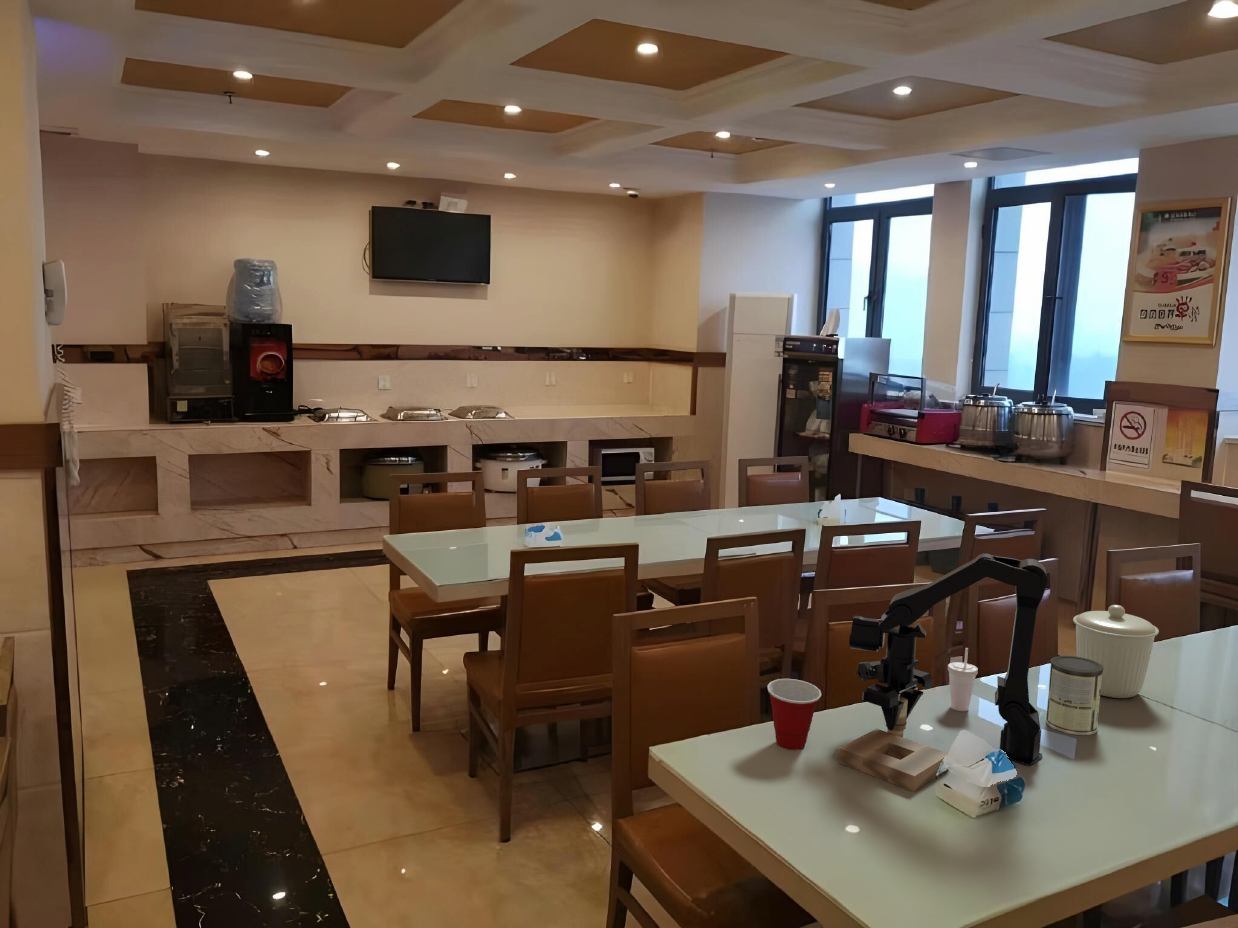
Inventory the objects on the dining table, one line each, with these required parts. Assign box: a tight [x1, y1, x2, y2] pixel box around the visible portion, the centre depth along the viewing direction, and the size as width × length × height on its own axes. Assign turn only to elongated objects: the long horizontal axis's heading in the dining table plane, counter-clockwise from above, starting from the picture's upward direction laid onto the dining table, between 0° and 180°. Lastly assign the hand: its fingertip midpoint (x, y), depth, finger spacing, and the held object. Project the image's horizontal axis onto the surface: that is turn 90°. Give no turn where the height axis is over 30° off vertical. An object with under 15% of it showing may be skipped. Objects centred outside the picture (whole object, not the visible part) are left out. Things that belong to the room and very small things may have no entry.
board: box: [837, 728, 948, 792], centre depth 186 cm, size 16×14×3 cm
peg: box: [885, 696, 908, 738], centre depth 200 cm, size 4×4×8 cm
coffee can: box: [1045, 655, 1104, 736], centre depth 207 cm, size 10×10×14 cm
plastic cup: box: [766, 678, 822, 751], centre depth 194 cm, size 11×11×12 cm
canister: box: [1072, 604, 1160, 699], centre depth 228 cm, size 18×18×21 cm
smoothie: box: [947, 647, 979, 712], centre depth 216 cm, size 6×6×14 cm
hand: (895, 726), depth 200 cm, fingers closed on peg, 4 cm apart
